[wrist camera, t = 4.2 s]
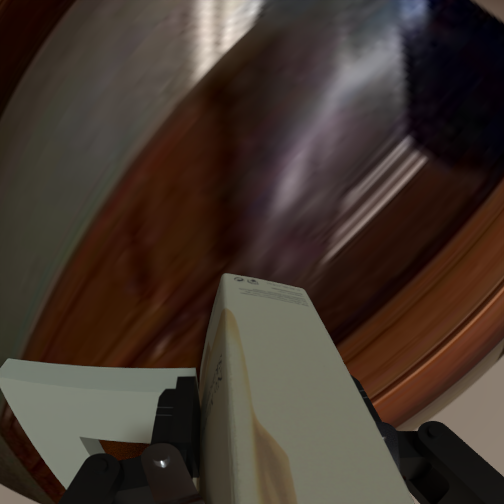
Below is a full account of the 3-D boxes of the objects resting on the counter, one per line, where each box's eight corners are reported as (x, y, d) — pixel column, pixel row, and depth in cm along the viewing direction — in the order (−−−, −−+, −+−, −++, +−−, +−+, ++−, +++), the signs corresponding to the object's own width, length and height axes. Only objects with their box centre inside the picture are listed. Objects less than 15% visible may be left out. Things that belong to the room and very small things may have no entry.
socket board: (195, 367, 21) (194, 393, 18) (218, 499, 27) (219, 519, 24) (8, 358, 19) (-7, 377, 17) (83, 489, 25) (79, 506, 23)
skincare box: (221, 269, 15) (234, 527, 4) (306, 286, 16) (431, 500, 4) (197, 373, 17) (191, 585, 5) (271, 384, 18) (318, 580, 6)
